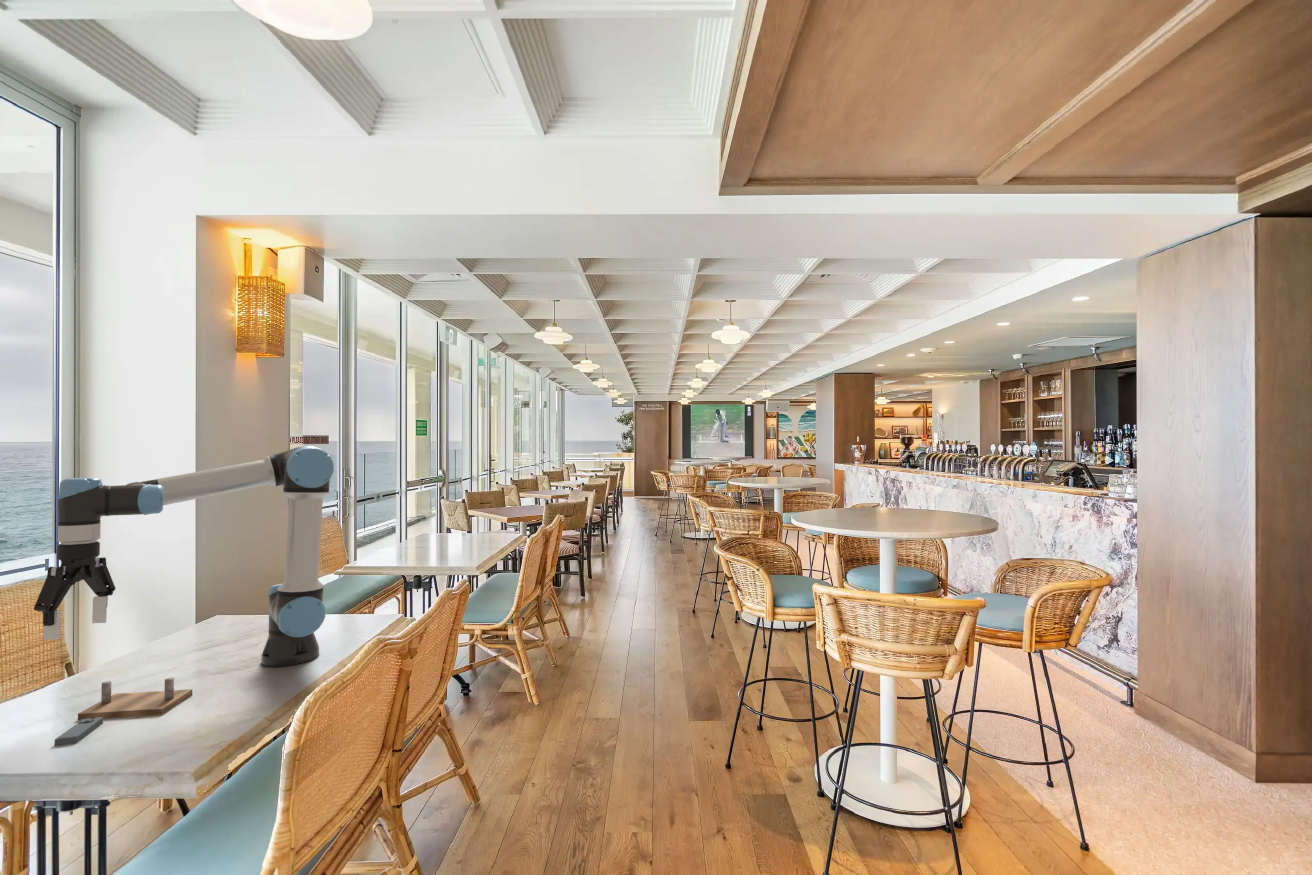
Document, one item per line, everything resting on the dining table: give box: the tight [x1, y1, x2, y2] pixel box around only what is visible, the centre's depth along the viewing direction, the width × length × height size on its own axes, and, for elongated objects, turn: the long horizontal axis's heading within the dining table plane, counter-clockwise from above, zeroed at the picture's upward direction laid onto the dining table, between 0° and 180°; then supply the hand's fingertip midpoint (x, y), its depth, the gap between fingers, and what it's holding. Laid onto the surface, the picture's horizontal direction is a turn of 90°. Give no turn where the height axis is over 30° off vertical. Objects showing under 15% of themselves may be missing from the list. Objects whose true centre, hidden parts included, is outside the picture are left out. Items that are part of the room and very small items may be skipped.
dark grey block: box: [54, 717, 104, 747], centre depth 136 cm, size 4×10×2 cm, turn 18°
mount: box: [77, 677, 193, 721], centre depth 151 cm, size 18×12×6 cm, turn 99°
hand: (76, 630), depth 146 cm, fingers open, 13 cm apart
